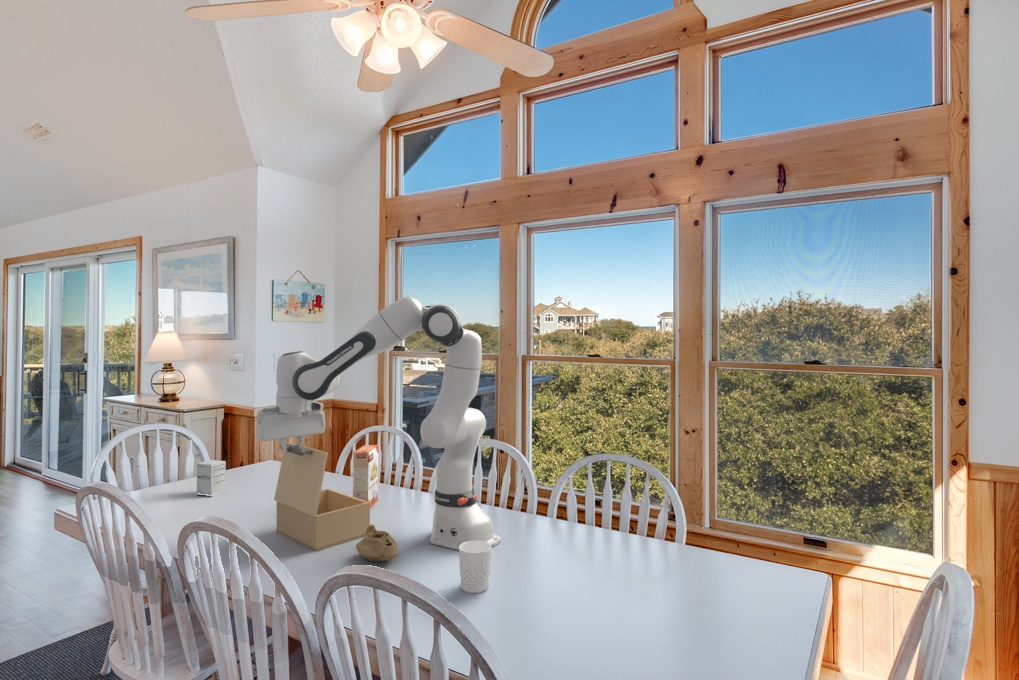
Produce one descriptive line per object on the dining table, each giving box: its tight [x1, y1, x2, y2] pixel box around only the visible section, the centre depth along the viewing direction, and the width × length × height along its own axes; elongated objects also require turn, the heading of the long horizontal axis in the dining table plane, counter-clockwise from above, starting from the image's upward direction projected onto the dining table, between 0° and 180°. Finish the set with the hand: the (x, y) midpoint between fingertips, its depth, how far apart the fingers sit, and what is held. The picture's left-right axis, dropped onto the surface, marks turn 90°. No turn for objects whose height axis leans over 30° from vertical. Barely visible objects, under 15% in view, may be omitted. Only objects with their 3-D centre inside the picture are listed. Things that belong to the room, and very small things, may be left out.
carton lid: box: [273, 441, 329, 516], centre depth 166 cm, size 24×18×6 cm
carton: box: [275, 488, 371, 552], centre depth 173 cm, size 24×18×10 cm
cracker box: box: [352, 444, 380, 508], centre depth 202 cm, size 14×6×21 cm, turn 179°
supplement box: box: [196, 459, 227, 495], centre depth 216 cm, size 7×7×13 cm
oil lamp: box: [355, 523, 398, 562], centre depth 153 cm, size 11×15×8 cm
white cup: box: [458, 541, 492, 594], centre depth 136 cm, size 8×8×10 cm
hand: (291, 452), depth 166 cm, fingers open, 2 cm apart
